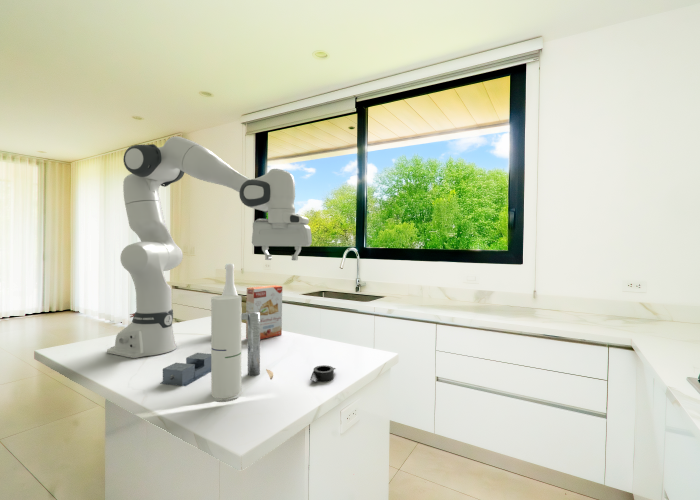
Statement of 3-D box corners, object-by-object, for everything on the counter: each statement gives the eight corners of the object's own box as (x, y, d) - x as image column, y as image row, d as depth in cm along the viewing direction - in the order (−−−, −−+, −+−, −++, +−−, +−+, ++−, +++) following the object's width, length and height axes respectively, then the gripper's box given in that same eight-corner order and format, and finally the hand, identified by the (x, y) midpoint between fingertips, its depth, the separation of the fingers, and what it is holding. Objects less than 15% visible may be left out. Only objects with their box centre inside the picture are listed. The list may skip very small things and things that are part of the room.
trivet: (225, 382, 96) (225, 380, 96) (245, 369, 107) (245, 367, 107) (262, 386, 94) (262, 384, 94) (279, 372, 104) (279, 370, 104)
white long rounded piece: (227, 330, 153) (227, 262, 153) (246, 332, 150) (246, 263, 150) (212, 336, 144) (212, 264, 144) (231, 338, 141) (231, 264, 141)
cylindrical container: (216, 390, 91) (216, 295, 91) (244, 389, 92) (244, 295, 91) (207, 402, 84) (207, 299, 84) (237, 401, 85) (237, 299, 84)
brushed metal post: (259, 372, 102) (259, 311, 102) (260, 376, 99) (260, 313, 99) (232, 375, 100) (232, 313, 99) (233, 380, 97) (233, 315, 96)
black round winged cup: (302, 377, 101) (302, 367, 101) (333, 371, 106) (333, 362, 106) (312, 387, 94) (312, 376, 94) (345, 380, 99) (345, 370, 99)
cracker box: (253, 341, 137) (253, 288, 136) (245, 338, 141) (245, 287, 140) (282, 335, 147) (282, 285, 147) (274, 332, 151) (274, 284, 151)
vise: (185, 390, 91) (185, 371, 91) (159, 387, 93) (159, 368, 93) (217, 370, 105) (217, 354, 105) (194, 368, 107) (194, 352, 107)
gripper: (248, 218, 115) (248, 259, 115) (307, 217, 110) (306, 261, 111) (257, 219, 121) (257, 259, 121) (313, 219, 117) (313, 260, 117)
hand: (281, 260), depth 116 cm, fingers open, 8 cm apart
